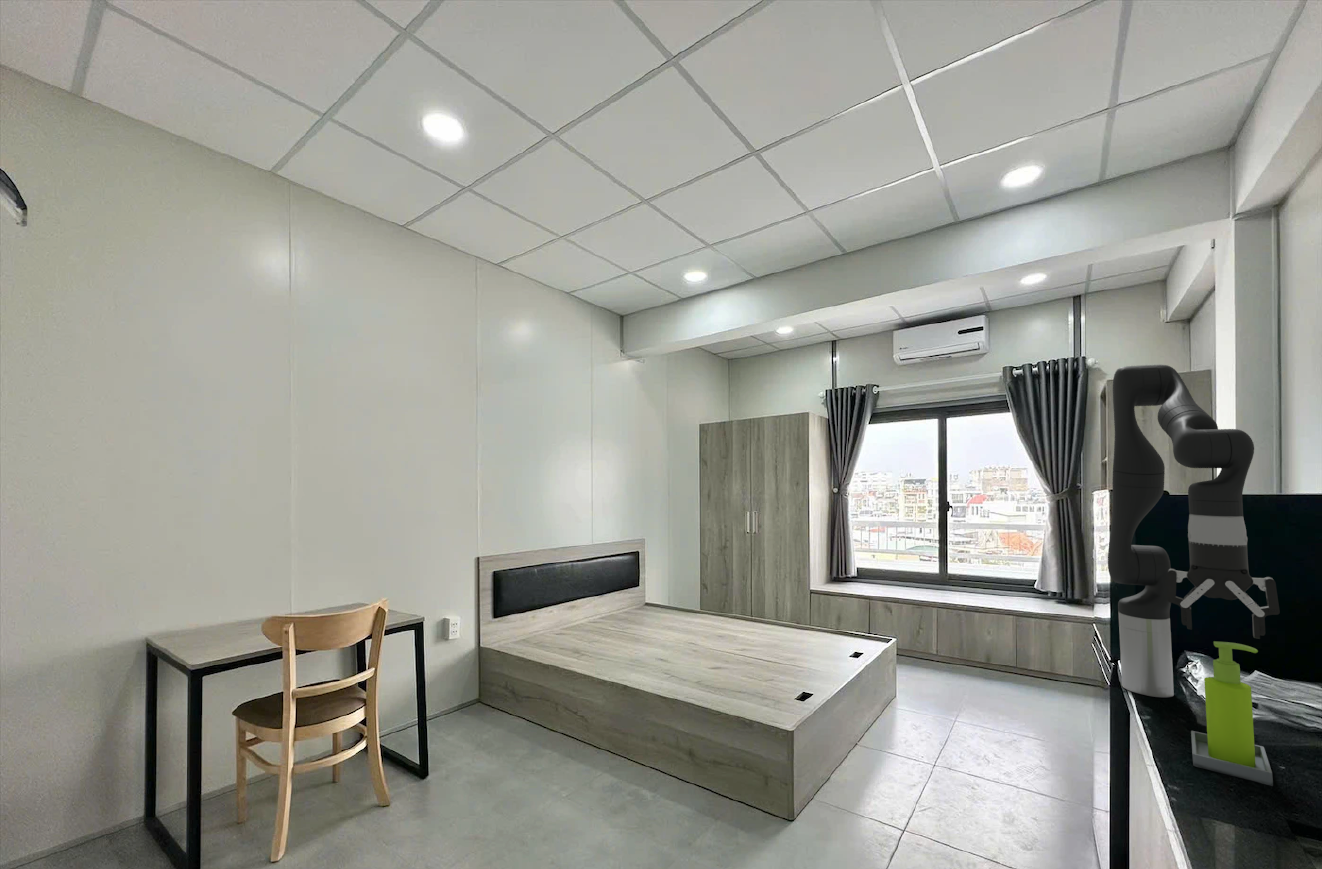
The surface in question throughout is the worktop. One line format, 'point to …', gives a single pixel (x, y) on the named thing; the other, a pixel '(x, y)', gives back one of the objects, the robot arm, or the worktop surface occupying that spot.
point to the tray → (1204, 761)
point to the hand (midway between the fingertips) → (1221, 632)
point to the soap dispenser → (1229, 709)
